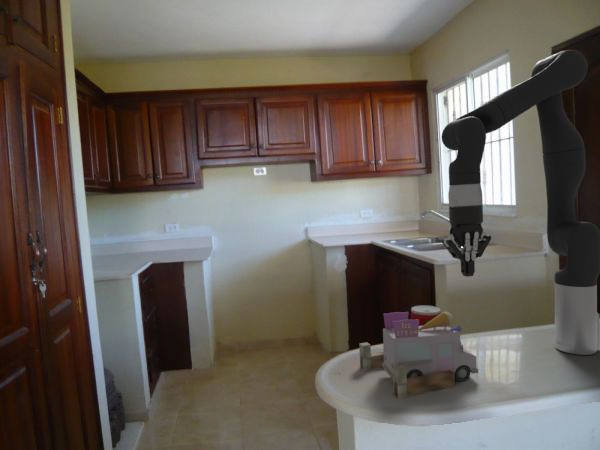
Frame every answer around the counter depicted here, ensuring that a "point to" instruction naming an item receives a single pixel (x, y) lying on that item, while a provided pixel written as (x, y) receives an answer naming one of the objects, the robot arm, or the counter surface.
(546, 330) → the counter surface
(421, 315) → the canned food
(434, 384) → the wooden rails pair
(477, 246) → the robot arm
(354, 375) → the counter surface
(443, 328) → the toy vehicle
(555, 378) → the counter surface
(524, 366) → the counter surface
